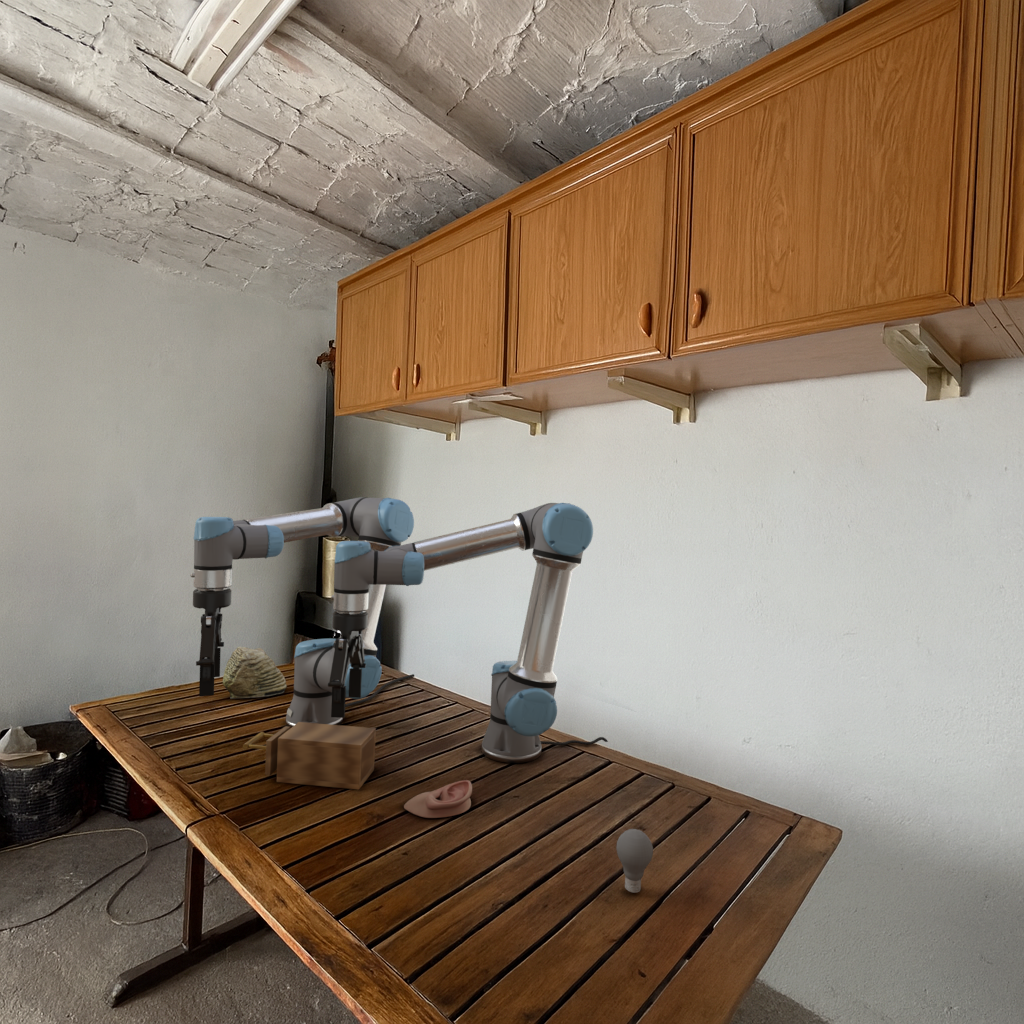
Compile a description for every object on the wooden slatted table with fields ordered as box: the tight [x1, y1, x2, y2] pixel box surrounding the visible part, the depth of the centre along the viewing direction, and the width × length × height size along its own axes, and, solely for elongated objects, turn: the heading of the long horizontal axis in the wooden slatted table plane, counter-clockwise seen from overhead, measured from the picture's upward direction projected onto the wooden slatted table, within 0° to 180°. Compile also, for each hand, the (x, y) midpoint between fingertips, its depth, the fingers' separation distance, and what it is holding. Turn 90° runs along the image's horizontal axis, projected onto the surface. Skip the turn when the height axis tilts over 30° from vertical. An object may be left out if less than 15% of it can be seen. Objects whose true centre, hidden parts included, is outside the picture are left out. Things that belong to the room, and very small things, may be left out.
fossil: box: [222, 646, 288, 699], centre depth 198 cm, size 9×18×15 cm, turn 132°
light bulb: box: [615, 828, 654, 894], centre depth 106 cm, size 6×6×10 cm
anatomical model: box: [403, 779, 473, 819], centre depth 132 cm, size 13×4×12 cm
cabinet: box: [276, 722, 377, 790], centre depth 144 cm, size 19×10×10 cm, turn 84°
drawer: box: [242, 725, 290, 776], centre depth 144 cm, size 23×9×8 cm, turn 84°
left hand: (210, 685), depth 137 cm, fingers open, 13 cm apart
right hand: (346, 706), depth 140 cm, fingers open, 13 cm apart
